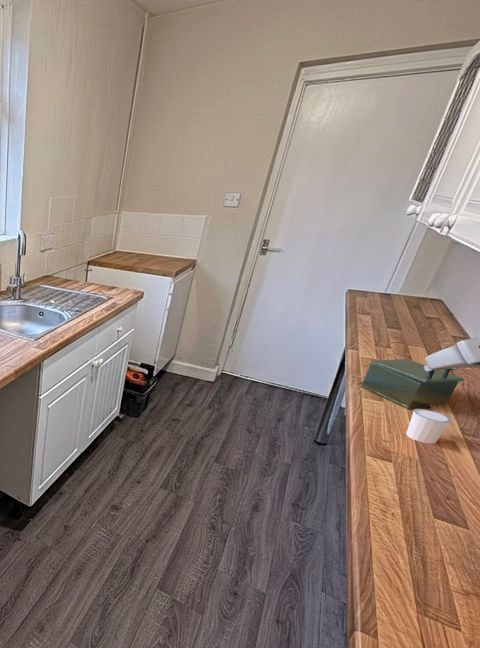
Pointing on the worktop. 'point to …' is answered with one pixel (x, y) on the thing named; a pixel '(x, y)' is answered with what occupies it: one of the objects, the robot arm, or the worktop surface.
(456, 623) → the worktop surface
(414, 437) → the white ramekin
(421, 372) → the box lid
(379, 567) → the worktop surface
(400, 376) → the green box
